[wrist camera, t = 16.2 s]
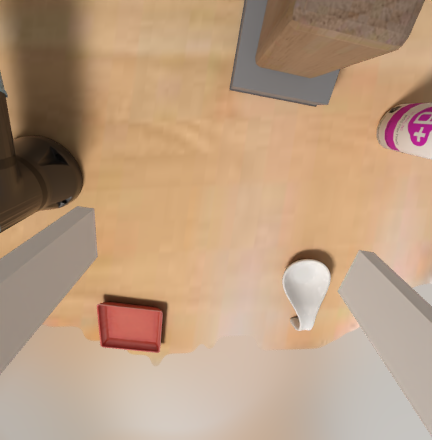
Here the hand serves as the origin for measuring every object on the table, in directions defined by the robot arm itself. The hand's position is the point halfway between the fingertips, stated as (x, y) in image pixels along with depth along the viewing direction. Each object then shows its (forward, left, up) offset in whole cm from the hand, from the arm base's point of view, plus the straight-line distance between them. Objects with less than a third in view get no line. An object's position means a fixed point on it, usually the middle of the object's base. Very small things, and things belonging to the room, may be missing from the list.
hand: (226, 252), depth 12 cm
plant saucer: (-17, -55, -39) cm, 70 cm away
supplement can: (+33, +9, -39) cm, 52 cm away
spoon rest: (+28, -33, -39) cm, 59 cm away
